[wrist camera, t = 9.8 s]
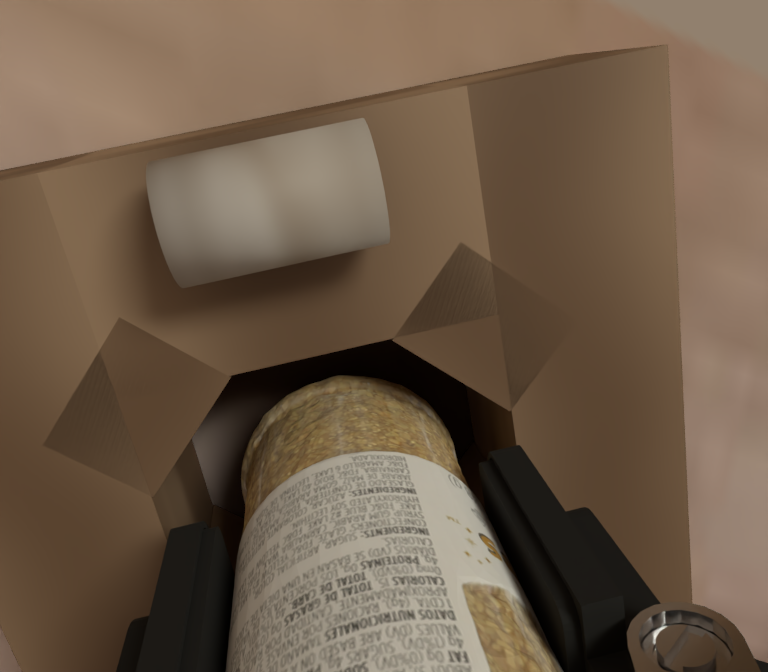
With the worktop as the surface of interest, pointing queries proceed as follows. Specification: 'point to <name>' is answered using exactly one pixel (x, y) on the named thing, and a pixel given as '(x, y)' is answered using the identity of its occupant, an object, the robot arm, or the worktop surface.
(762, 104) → the worktop surface
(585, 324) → the open brown cardboard box
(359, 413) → the sprinkles bottle
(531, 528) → the robot arm
